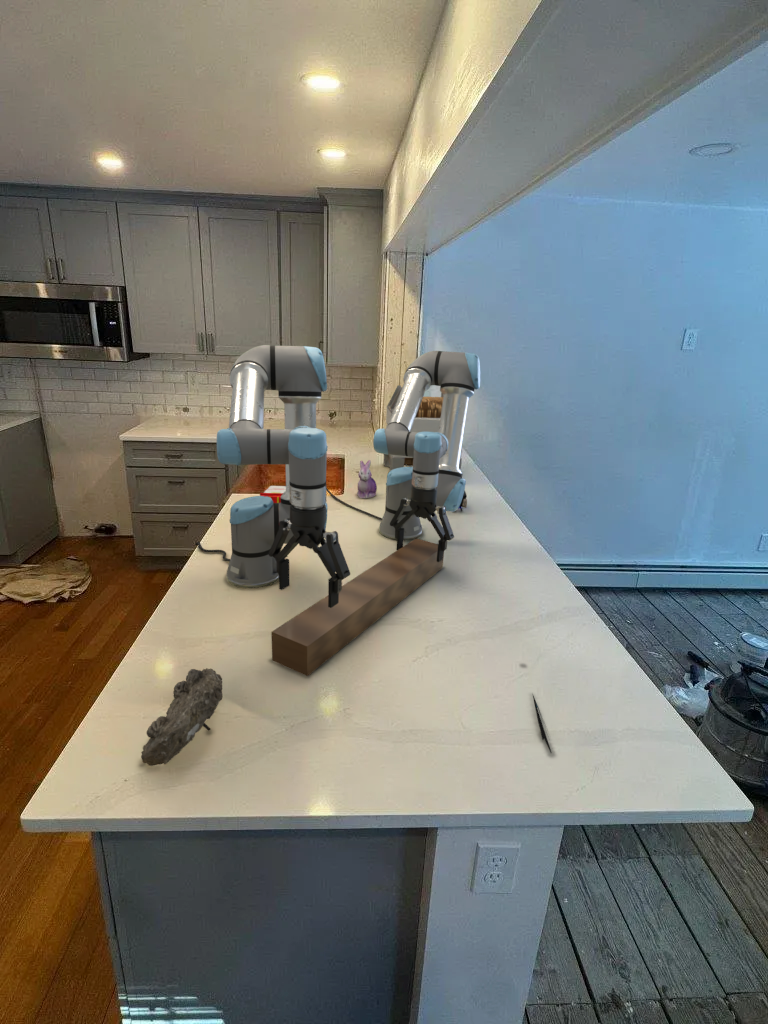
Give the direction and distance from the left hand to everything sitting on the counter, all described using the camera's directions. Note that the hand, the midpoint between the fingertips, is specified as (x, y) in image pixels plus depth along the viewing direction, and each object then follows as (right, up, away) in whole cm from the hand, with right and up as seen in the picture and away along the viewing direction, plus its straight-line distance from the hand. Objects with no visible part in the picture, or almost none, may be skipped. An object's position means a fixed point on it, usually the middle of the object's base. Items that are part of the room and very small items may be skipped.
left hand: (308, 596), depth 124 cm
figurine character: (+46, +20, +105) cm, 117 cm away
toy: (-22, +16, +85) cm, 90 cm away
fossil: (-19, -22, -19) cm, 35 cm away
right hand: (+27, +6, +46) cm, 53 cm away
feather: (+47, -21, -9) cm, 53 cm away
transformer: (+34, +37, +151) cm, 159 cm away
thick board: (+13, -7, +27) cm, 30 cm away
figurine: (+9, +25, +115) cm, 118 cm away
